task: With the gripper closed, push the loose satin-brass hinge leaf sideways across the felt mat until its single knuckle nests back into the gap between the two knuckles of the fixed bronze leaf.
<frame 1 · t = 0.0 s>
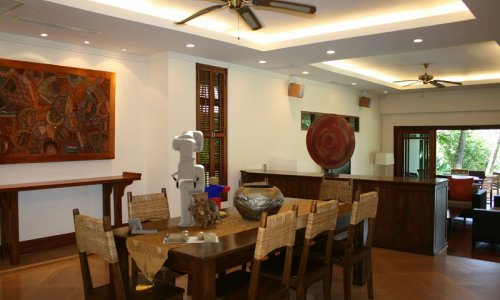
hand: (186, 188, 250), 31 cm above the table, fingers open, 9 cm apart
hinge pin: (166, 240, 251), resting on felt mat
figurine: (213, 214, 339), on the table
door handle: (143, 233, 272), on the table
door leaf: (207, 239, 254), resting on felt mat
frame leaf: (177, 239, 251), resting on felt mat
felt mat: (191, 240, 252), on the table
decorative coral sculpture: (204, 225, 296), on the table
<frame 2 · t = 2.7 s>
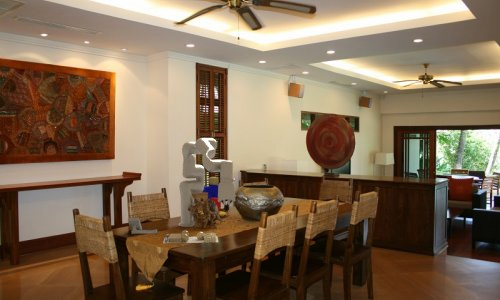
hand: (226, 211, 254), 17 cm above the table, fingers closed
nothing on the table moved.
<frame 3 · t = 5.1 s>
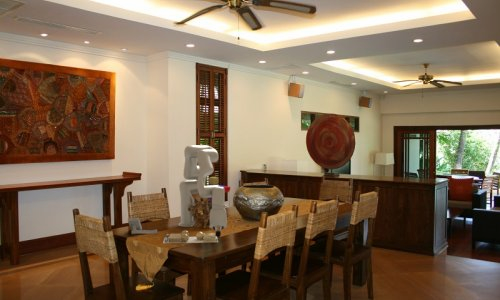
hand: (218, 237, 254), 1 cm above the table, fingers closed
door leaf: (207, 239, 254), resting on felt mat
everything else where it was.
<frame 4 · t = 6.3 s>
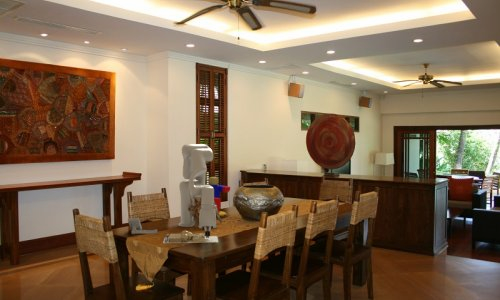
hand: (207, 237, 253), 2 cm above the table, fingers closed
door leaf: (196, 239, 253), resting on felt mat, touching gripper
decorative coral sculpture: (203, 225, 296), on the table, touching arm
everything else where it was.
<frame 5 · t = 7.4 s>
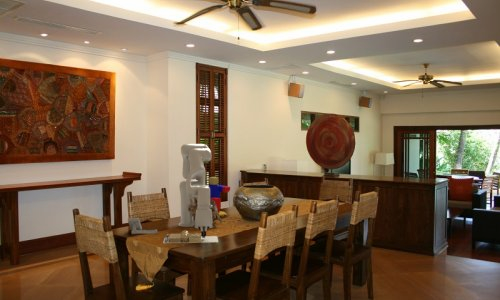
hand: (203, 237, 253), 2 cm above the table, fingers closed
door leaf: (192, 239, 252), resting on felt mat, touching gripper
everything else where it was.
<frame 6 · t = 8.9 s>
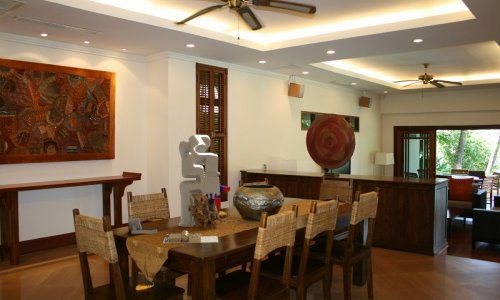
hand: (211, 204, 254), 21 cm above the table, fingers closed
door leaf: (192, 239, 252), resting on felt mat
decorative coral sculpture: (203, 225, 296), on the table
everything else where it was.
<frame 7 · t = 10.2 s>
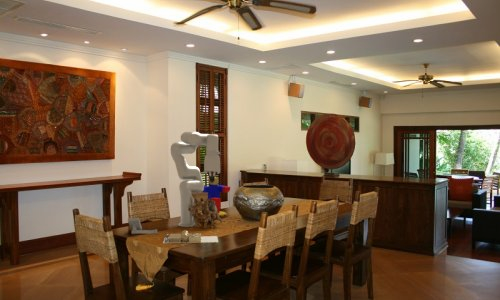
hand: (212, 182, 269), 33 cm above the table, fingers closed
nothing on the table moved.
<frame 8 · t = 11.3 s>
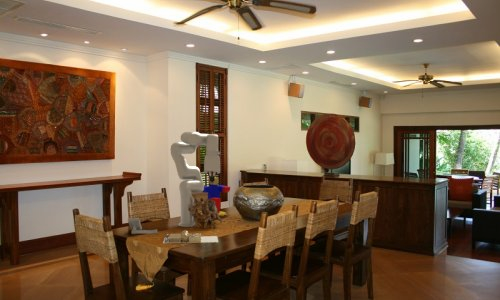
hand: (212, 182, 269), 33 cm above the table, fingers closed
nothing on the table moved.
at the end: door leaf 0.5 cm from the target spot, resting on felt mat; door leaf tilted 0° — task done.
